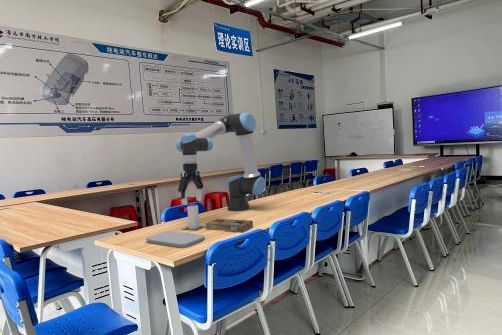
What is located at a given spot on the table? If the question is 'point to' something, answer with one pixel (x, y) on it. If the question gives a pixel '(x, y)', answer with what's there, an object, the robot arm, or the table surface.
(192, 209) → the grey upright block
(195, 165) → the robot arm
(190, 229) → the mat
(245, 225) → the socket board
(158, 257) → the table surface
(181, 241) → the tablet
